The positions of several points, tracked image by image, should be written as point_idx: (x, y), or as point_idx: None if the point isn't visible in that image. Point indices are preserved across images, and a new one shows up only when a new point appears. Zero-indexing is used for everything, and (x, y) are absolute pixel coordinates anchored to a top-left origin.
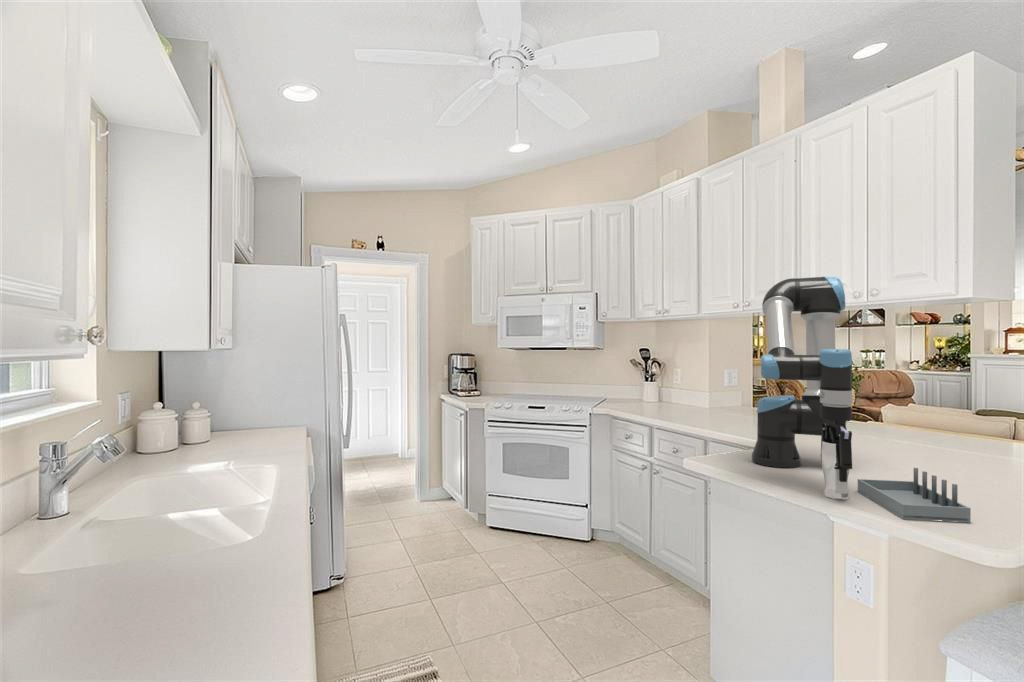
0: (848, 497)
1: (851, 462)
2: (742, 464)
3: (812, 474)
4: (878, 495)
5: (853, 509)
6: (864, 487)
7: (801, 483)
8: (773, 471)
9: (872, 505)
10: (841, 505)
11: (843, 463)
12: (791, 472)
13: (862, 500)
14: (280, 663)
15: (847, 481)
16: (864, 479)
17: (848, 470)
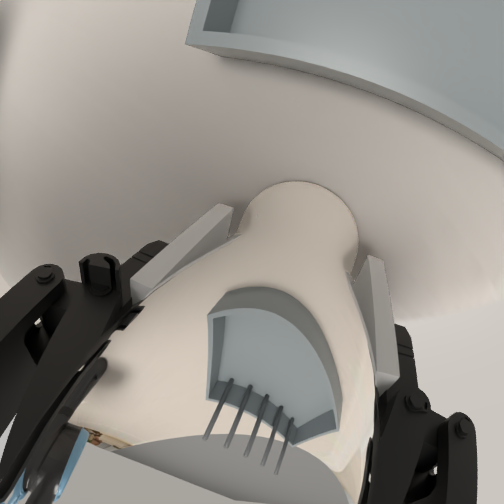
0: (350, 212)
1: (473, 465)
2: (3, 261)
3: (22, 124)
4: (473, 135)
5: (465, 305)
6: (295, 64)
7: (110, 238)
8: (22, 229)
9: (461, 178)
10: (416, 312)
11: (430, 480)
12: (17, 182)
13: (384, 154)
14: None
15: (391, 307)
16: (197, 6)
17: (364, 323)
